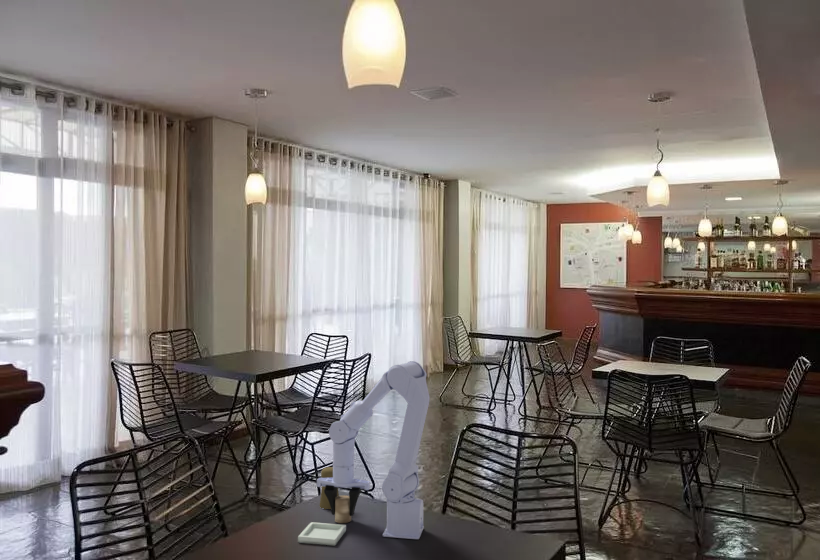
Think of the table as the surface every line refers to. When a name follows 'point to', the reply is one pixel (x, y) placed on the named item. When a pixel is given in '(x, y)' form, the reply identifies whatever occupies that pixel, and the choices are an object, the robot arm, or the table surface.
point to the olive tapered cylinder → (324, 501)
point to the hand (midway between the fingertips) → (343, 514)
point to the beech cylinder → (342, 509)
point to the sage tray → (322, 533)
